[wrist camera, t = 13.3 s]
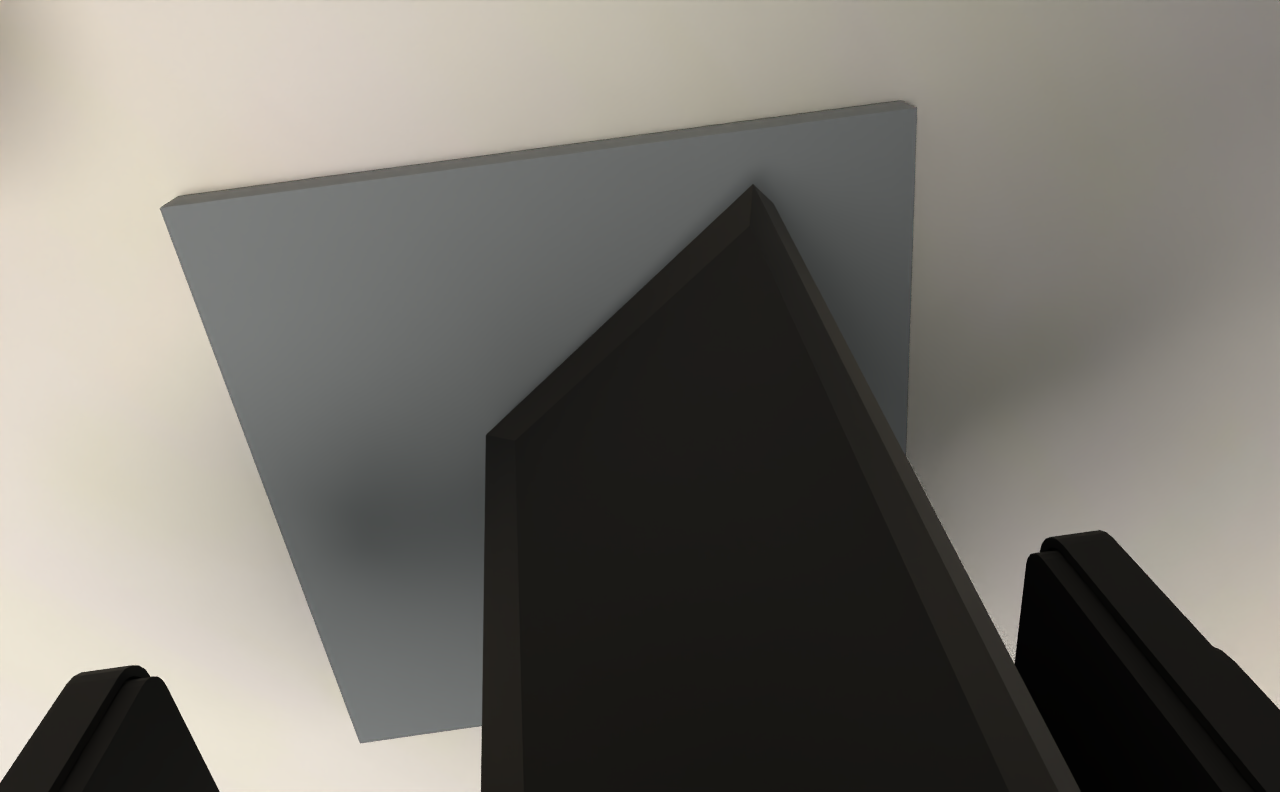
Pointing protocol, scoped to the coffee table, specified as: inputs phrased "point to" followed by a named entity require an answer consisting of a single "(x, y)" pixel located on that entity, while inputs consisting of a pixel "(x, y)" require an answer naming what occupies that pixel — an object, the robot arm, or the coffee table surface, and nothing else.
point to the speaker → (732, 562)
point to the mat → (491, 345)
